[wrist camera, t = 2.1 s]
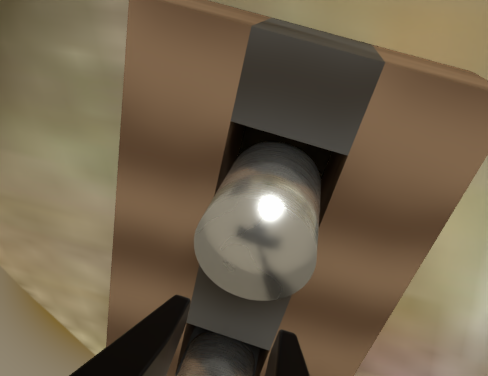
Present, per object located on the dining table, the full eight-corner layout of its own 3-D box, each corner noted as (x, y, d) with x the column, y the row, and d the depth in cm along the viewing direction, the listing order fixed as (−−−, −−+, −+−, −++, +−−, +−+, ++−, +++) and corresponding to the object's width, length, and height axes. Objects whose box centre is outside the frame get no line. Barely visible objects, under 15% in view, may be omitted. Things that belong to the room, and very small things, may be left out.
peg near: (304, 234, 17) (295, 315, 13) (222, 208, 18) (185, 278, 13) (334, 156, 15) (334, 222, 11) (240, 129, 16) (205, 181, 11)
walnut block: (309, 385, 29) (304, 456, 24) (137, 327, 30) (103, 384, 25) (472, 71, 17) (520, 99, 13) (178, -8, 18) (129, -8, 14)
